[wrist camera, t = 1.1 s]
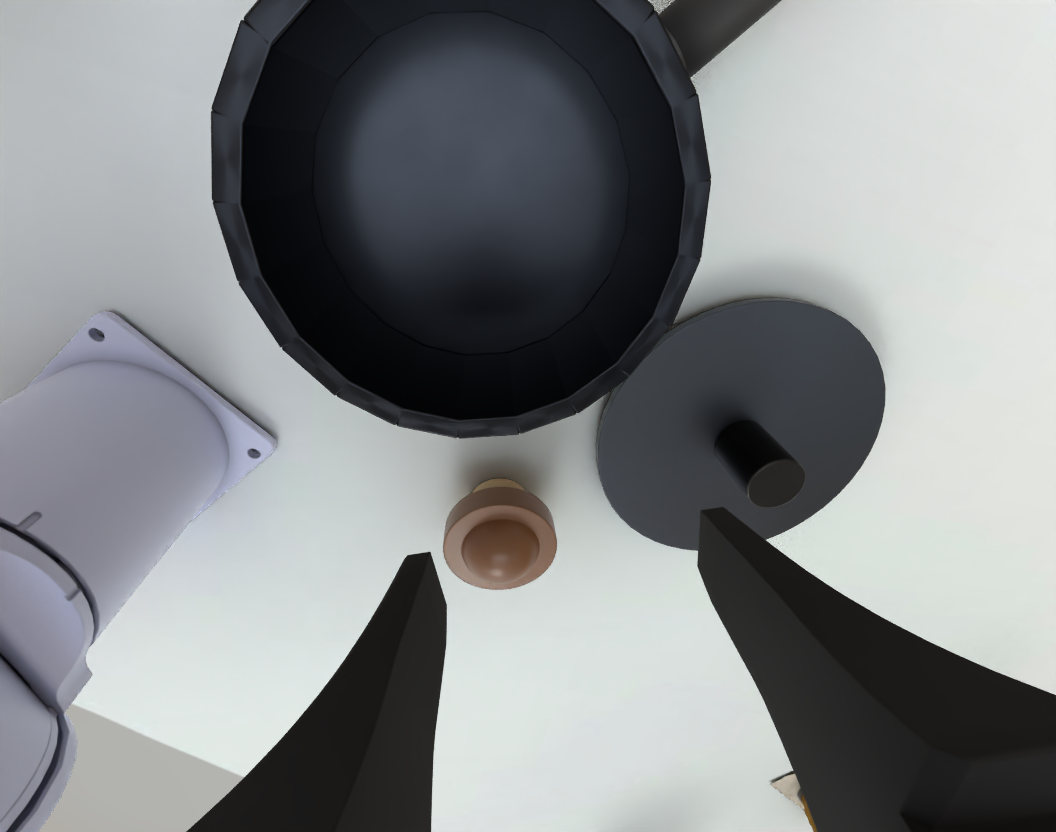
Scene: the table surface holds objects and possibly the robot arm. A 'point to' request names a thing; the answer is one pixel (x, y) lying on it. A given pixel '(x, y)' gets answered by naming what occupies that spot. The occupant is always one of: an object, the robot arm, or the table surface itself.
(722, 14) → the pan handle
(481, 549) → the mushroom
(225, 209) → the pan
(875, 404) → the lid
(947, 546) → the table surface
